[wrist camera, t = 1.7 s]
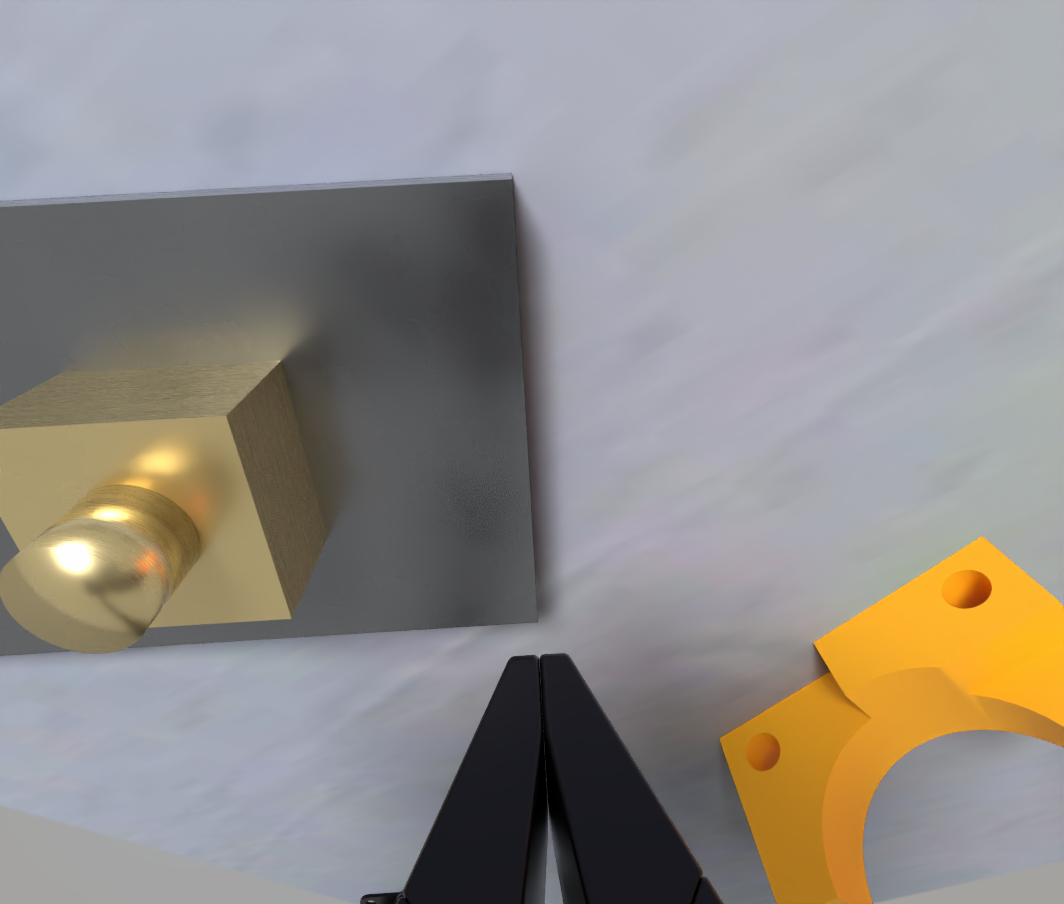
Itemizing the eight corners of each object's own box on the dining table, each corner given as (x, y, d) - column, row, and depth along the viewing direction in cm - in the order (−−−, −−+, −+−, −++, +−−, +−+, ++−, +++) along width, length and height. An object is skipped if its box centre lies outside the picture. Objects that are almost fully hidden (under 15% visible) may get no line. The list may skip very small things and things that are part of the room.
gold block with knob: (327, 538, 16) (257, 693, 11) (139, 549, 16) (-1, 709, 11) (281, 360, 14) (171, 470, 9) (60, 373, 13) (-157, 489, 9)
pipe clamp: (978, 532, 19) (1172, 698, 14) (1032, 600, 21) (1227, 774, 15) (690, 715, 23) (750, 903, 18) (754, 761, 25) (828, 948, 19)
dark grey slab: (535, 577, 19) (538, 626, 17) (-207, 623, 19) (-288, 678, 17) (511, 172, 14) (512, 179, 12) (-546, 231, 13) (-723, 247, 11)
